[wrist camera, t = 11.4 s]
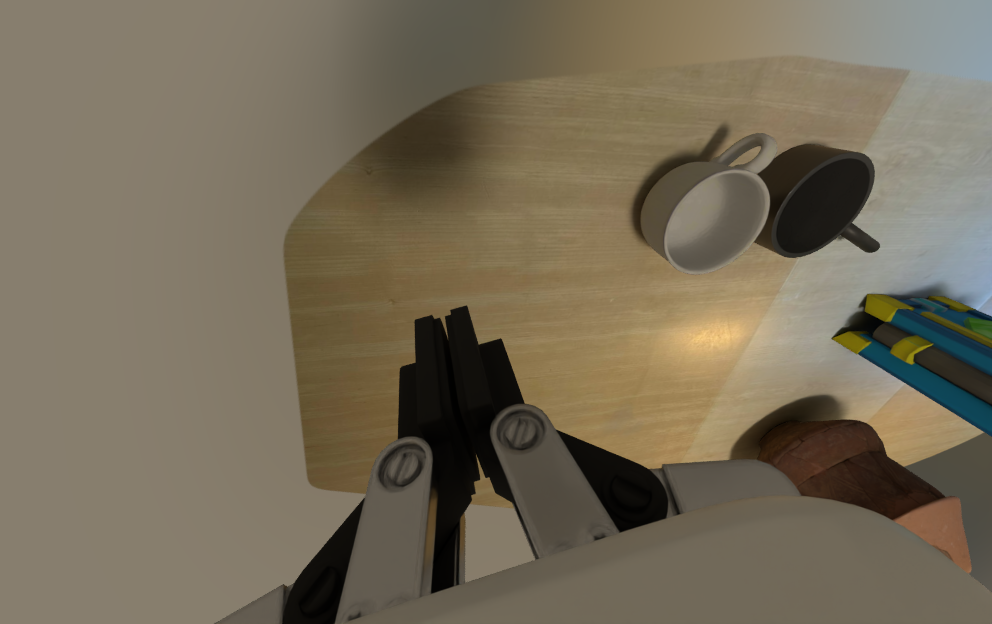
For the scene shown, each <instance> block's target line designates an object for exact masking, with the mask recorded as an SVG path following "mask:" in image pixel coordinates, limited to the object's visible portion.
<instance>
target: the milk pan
mask: <svg viewBox="0 0 992 624" xmlns="http://www.w3.org/2000/svg"><path fill="white" fill-rule="evenodd" d="M758 176H759V177H760V178H761V179H762V180H763V182H764V183H765V185H766V187H767V189H768V191H769V195H770V207H769V212H768V216H767V220H766V222H765V224H764V226H763V228H762V231H761V232H760V233H759V235H758V236H757V238H756V240H755V241H754V242H755V243H757V244H759V245H761V246H763V247H765V248H767V249H769V250H771V251H773V252H775V253H777V254H779V255H782V256H784V257H789V258H796V257H802V256H806V255H808V254H811V253H813V252H815V251H818V250H819V249H821V248H823V247H824V246H826V245H827V244H829V243H830V242H832V241H833V240H834V239H836V238H837V237H838V236H839V235H841V236H843V237H844V238H846V239H847V240H849V241H850V242H852V243H853V244H854V245H856V246H857V247H859V248H860V249H862V250H863V251H865V252H867V253H872V252H875V251H877V250H878V249H879V248H880V244H879V242H877V241H876V240H875V239H873V238H872V237H870V236H869V235H868V234H866V233H865V232H864V231H862V230H861V229H859V228H858V227H857V226H855V225H854V224H853V223H852V222H853V221H854V219H855V218H856V217H857V216H858V214H859V213H860V211H861V210H862V208H863V207H864V205H865V203H866V201H867V199H868V197H869V195H870V193H871V190H872V187H873V183H874V177H875V170H874V165H873V163H872V161H871V160H870V158H869V157H867V156H866V155H865V154H862V153H859V152H853V151H847V150H841V149H835V148H830V147H824V146H818V145H811V144H810V145H801V146H797V147H795V148H792V149H790V150H788V151H786V152H784V153H782V154H781V155H779V156H778V157H776V158H775V159H774V160H772V161H771V163H770V164H769V165H768V166H767V167H766V168H764V169H763V170H762V171H761V172H760V173H759V174H758Z"/></svg>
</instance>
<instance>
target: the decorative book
mask: <svg viewBox="0 0 992 624" xmlns="http://www.w3.org/2000/svg"><path fill="white" fill-rule="evenodd" d="M865 312H867V313H869V314H871V315H873V316H875V317H877V318H879V319H881V320H883V321H884V322H885V323H883V324H882V325H880V326H879V327H878V328H877V329H876V330H875V331H874V333H868V332H866V331H849V332H846V333H844V334H842V335H839V336H837V337H834V338H832V339H833V340H834V341H836V342H838V343H839V344H841V345H843V346H844V347H846V348H847V349H849V350H851V351H852V352H854V353H855V354H859V355H860V356H862V357H864V358H865V359H867V360H869V361H870V362H872V363H873V364H875V365H877V366H878V367H880V368H882V369H883V370H885V371H886V372H888V373H890V374H891V375H893V376H894V377H896V378H898V379H899V380H901V381H903V382H904V383H906V384H907V385H909V386H911V387H912V388H914V389H916V390H917V391H919V392H920V393H922V394H924V395H925V396H927V397H928V398H930V399H932V400H933V401H935V402H937V403H938V404H940V405H941V406H943V407H945V408H946V409H948V410H949V411H951V412H953V413H954V414H956V415H958V416H959V417H961V418H962V419H964V420H966V421H967V422H969V423H971V424H972V425H974V426H975V427H977V428H979V429H980V430H982V431H983V432H985V433H987V434H988V435H990V436H992V317H991V316H989V315H986V314H984V313H982V312H979V311H977V310H976V309H973V308H971V307H969V306H966V305H964V304H961V303H959V302H956V301H954V300H952V299H949V298H947V297H942V296H929V299H928V300H927V299H925V298H910V299H908V300H902V299H894V298H891V297H889V296H887V295H881V294H867V300H866V307H865Z"/></svg>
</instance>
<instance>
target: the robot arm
mask: <svg viewBox="0 0 992 624" xmlns="http://www.w3.org/2000/svg"><path fill="white" fill-rule="evenodd" d="M450 311H451V315H448V316H445V320H446V327H447V333H448V338H447V335H446V332H445V329H444V327H443V324H442V321H441V319H440V318H437V319H434V317H433V316H432V315H430V316H427V317H423V318H419V319H416V320H415V354H416V363H413V364H409V365H406V366H402V367H401V368H400V379H399V416H398V440H396V441H394V442H392V443H391V444H389V445H388V446H387V447H386V448H385V449H384V450H382V451H381V453H380V454H379V456H378V457H377V458H376V460H375V462H374V465H373V468H372V471H371V475H370V479H369V483H368V487H367V492H366V496H365V498H364V499H363V500H362V501H361V502H360V504H359V505H358V506H357V507H356V508H355V510H354V511H353V512H352V513H351V514H350V515H349V517H348V518H347V519H346V520H345V521H344V523H343V524H342V525H341V526H340V527H339V529H338V530H337V531H336V532H335V533H334V535H333V536H332V537H331V538H330V539H329V540H328V541H327V543H326V544H325V545H324V547H322V549H321V550H320V551H319V552H318V553H317V555H316V556H315V557H314V558H313V559H312V560H311V562H310V563H309V564H308V565H307V567H306V568H305V569H304V570H303V571H302V573H301V574H300V576H299V577H298V578H297V580H296V581H295V583H293V584H292V585H290V586H288V587H287V586H285V585H284V584H283V585H281V586H279V587H278V588H276V589H274V590H272V591H271V592H269V593H267V594H265V595H264V596H262V597H260V598H258V599H257V600H255V601H253V602H251V603H250V604H248V605H246V606H244V607H243V608H241V609H239V610H237V611H236V612H234V613H232V614H230V615H229V616H227V617H225V618H223V619H222V620H220V621H218V622H216V623H214V624H992V593H991V592H990V591H989V590H988V589H986V588H985V587H984V586H983V585H982V584H981V583H979V582H978V581H977V580H976V579H974V578H973V577H972V576H970V575H969V574H968V573H967V572H965V571H964V570H963V569H962V568H960V567H959V566H958V565H956V564H955V563H954V562H953V561H951V560H950V559H949V558H948V557H946V556H945V555H944V554H943V553H941V552H940V551H939V550H937V549H936V548H934V547H933V546H932V545H930V544H929V543H927V542H926V541H925V540H923V539H922V538H920V537H919V536H917V535H916V534H914V533H913V532H911V531H910V530H908V529H907V528H905V527H903V526H902V525H900V524H898V523H896V522H894V521H893V520H891V519H889V518H887V517H885V516H883V515H881V514H879V513H876V512H874V511H871V510H868V509H865V508H862V507H859V506H856V505H852V504H848V503H843V502H839V501H835V500H830V499H822V498H815V497H808V496H801V494H800V493H799V491H798V490H797V488H796V487H795V485H794V484H793V483H792V482H791V480H790V479H789V478H788V477H787V476H786V475H785V474H784V473H783V472H781V471H780V470H778V469H777V468H775V467H774V466H772V465H770V464H767V463H765V462H762V461H759V460H751V459H738V460H723V461H707V462H692V463H676V464H662V468H659V469H647V468H645V467H644V466H642V465H640V464H638V463H635V462H633V461H630V460H628V459H626V458H623V457H621V456H618V455H616V454H614V453H611V452H609V451H606V450H604V449H602V448H599V447H597V446H594V445H592V444H589V443H587V442H585V441H582V440H580V439H577V438H575V437H573V436H570V435H568V434H565V433H563V432H561V431H558V430H556V429H555V428H554V426H553V425H552V423H551V421H550V420H549V418H548V417H547V415H546V414H545V413H544V412H543V411H542V410H541V409H539V408H537V407H536V406H533V405H529V404H525V403H524V400H523V397H522V395H521V392H520V389H519V386H518V383H517V381H516V378H515V375H514V372H513V369H512V366H511V364H510V361H509V358H508V355H507V352H506V350H505V347H504V344H503V341H502V339H497V340H494V341H490V342H487V343H483V344H480V345H478V341H477V338H476V334H475V331H474V328H473V324H472V321H471V317H470V314H469V310H468V307H467V306H463V307H459V308H456V309H452V310H450ZM448 340H449V341H448ZM476 455H477V457H478V460H479V462H480V465H481V467H482V470H483V472H484V475H485V477H486V478H488V477H490V480H491V483H492V485H493V488H494V490H495V493H496V494H498V495H500V496H502V497H503V498H505V499H507V500H509V501H510V502H512V504H513V507H514V509H515V511H516V514H517V516H518V519H519V521H520V524H521V526H522V529H523V531H524V533H525V536H526V539H527V541H528V543H529V546H530V548H531V551H532V553H533V556H534V558H535V560H534V561H531V562H528V563H525V564H522V565H518V566H516V567H512V568H509V569H506V570H503V571H500V572H497V573H494V574H491V575H488V576H485V577H482V578H479V579H476V580H472V581H470V582H466V583H465V514H464V512H465V510H466V509H467V507H468V506H469V504H470V503H471V501H472V497H471V495H473V494H476V492H475V486H474V482H475V481H478V480H480V474H479V468H478V463H477V457H476Z"/></svg>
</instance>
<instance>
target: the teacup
mask: <svg viewBox="0 0 992 624" xmlns="http://www.w3.org/2000/svg"><path fill="white" fill-rule="evenodd" d="M757 146H761V150H760V152H759V154H758V155H757V156H756V157H755V158H754V159H753V160H752V161H750V162H748V163H746V164H742V165H736V166H734V167H730V166H728V165H730V164H731V163H732V162H733V161H734V160H735V159H737V158H738V157H739V156H741V155H742V154H743V153H745V152H747V151H748V150H750V149H752V148H754V147H757ZM776 153H777V143H776V141H775V140H774V139H773V138H772V137H771V136H769V135H767V134H765V133H756V134H752V135H749V136H747V137H745V138H743V139H741V140H739V141H738V142H736V143H735V144H734V145H732V146H731V147H730V148H728V149H727V150H726V151H725V152H724V153H722V154H721V155H720V156H718V157H716V158H714V159H712V160H711V161H710V162H691V163H687V164H684V165H681V166H679V167H677V168H675V169H673V170H671V171H670V172H668V173H667V174H666V175H664V176H663V177H662V178H661V179H660V180H659V181H658V182H657V183H656V184H655V185H654V186H653V188H652V189H651V190H650V192H649V194H648V195H647V197H646V199H645V202H644V204H643V207H642V211H641V229H642V232H643V235H644V237H645V239H646V241H647V242H648V244H649V245H650V246H651V247H652V248H653V249H654V250H655V251H656V252H657V253H658V254H660V255H661V256H662V257H663V258H665V259H666V260H667V261H669V263H670V264H671V265H672V266H673V267H674V268H676V269H677V270H679V271H681V272H683V273H687V274H705V273H710V272H713V271H716V270H718V269H720V268H722V267H724V266H726V265H728V264H730V263H731V262H733V261H734V260H735V259H737V258H738V257H740V256H741V255H742V254H743V253H744V252H745V251H746V250H747V249H748V248H749V247H750V246H751V245H752V243H753V242H754V241H755V240H756V238H757V236H758V235H759V233H760V232H761V231H762V228H763V226H764V224H765V222H766V220H767V216H768V212H769V207H770V195H769V191H768V189H767V187H766V185H765V183H764V182H763V180H762V179H761V178H760V177H759V176H758V175H756V174H757V173H759V172H760V171H762V170H763V169H764V168H766V167H767V166H768V165H769V164H770V163H771V161H772V160H773V159H774V157H775V155H776Z"/></svg>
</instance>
